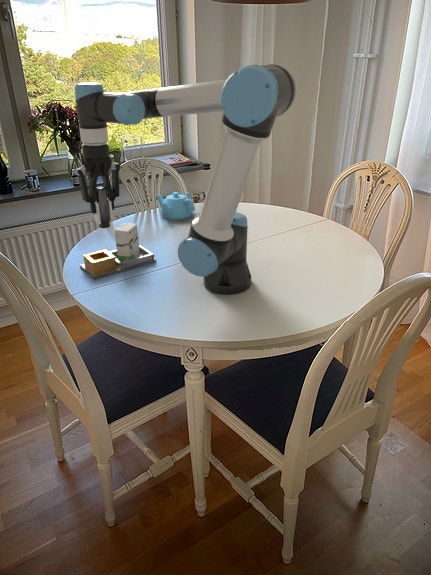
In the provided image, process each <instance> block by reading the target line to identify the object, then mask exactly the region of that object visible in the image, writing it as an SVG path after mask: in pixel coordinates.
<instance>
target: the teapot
mask: <svg viewBox="0 0 431 575" xmlns="http://www.w3.org/2000/svg"><path fill="white" fill-rule="evenodd" d="M156 197H157V200H158V203H159V205H160V206H159V207H160V215H161V216H162V217H163V218H164V219H165V220H168V221H183V220H186V219H187V220H188V219H189V218H190V217H191V215H192V214H193V213H194V211H196V208H195V204H194V201H193V199H191V192H189V191H187V192H185V194H180V193H179V192H178V191H174V192H172V194H169V195H166V197H165V198H164V197H163V196H162V195H161V194H156Z"/></svg>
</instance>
